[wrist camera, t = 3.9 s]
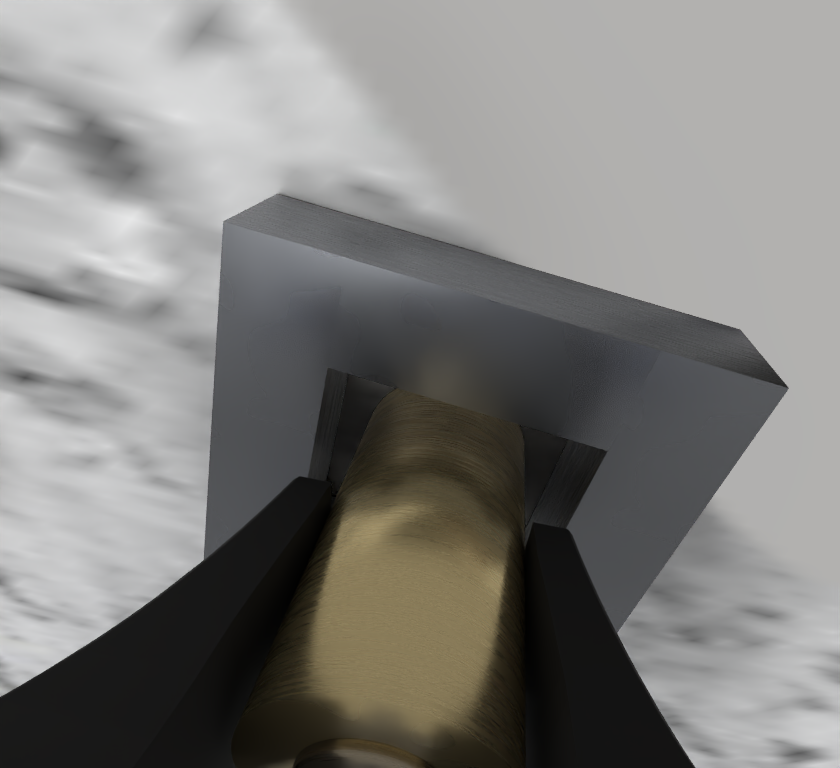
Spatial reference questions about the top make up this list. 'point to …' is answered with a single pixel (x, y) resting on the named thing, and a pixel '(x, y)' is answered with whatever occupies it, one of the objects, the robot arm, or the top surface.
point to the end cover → (406, 607)
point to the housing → (475, 378)
